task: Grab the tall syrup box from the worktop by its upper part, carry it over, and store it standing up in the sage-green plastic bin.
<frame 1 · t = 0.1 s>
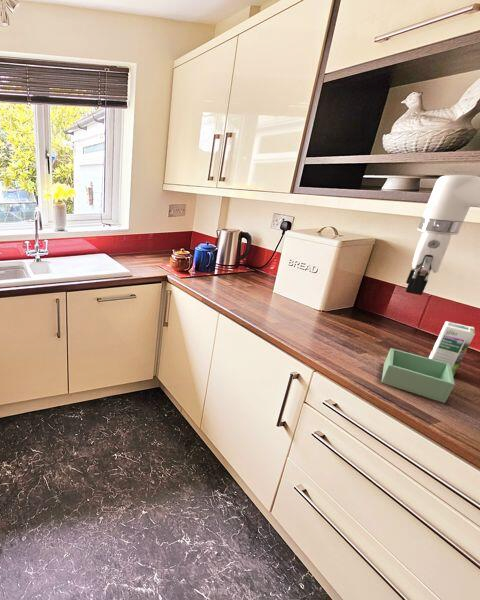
hand: (413, 288, 92), 25 cm above the counter, tool pointing down, fingers open, 9 cm apart
bin: (411, 382, 94), on the counter
syrup box: (438, 370, 100), on the counter
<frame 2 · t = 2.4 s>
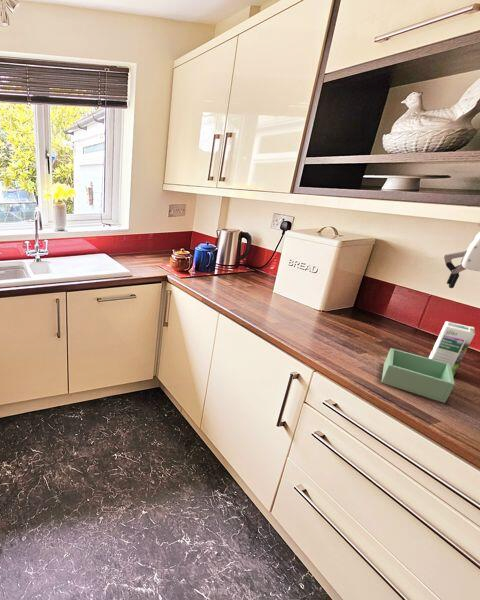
hand: (475, 291, 91), 25 cm above the counter, tool pointing down, fingers open, 9 cm apart
nothing on the counter moved.
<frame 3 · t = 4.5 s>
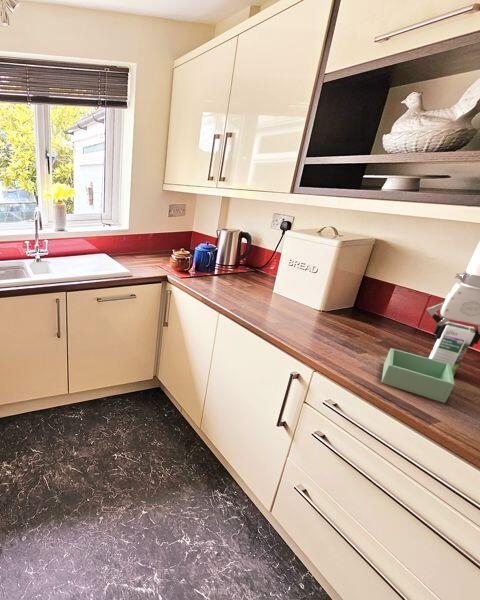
hand: (453, 340, 96), 10 cm above the counter, tool pointing down, fingers closed on syrup box, 5 cm apart
syrup box: (438, 370, 100), on the counter, touching gripper
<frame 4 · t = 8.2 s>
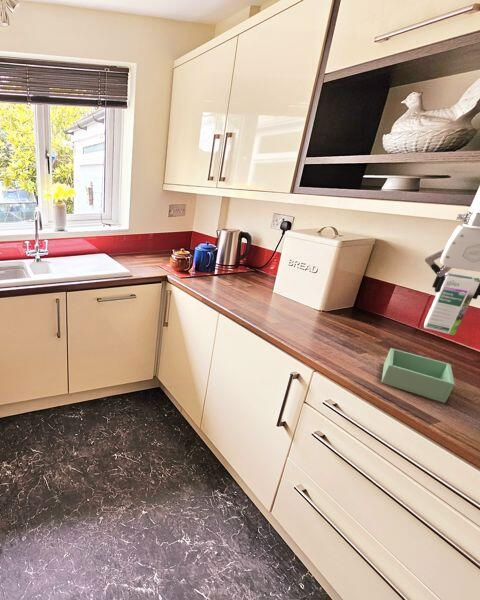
hand: (454, 293, 84), 27 cm above the counter, tool pointing down, fingers closed on syrup box, 5 cm apart
syrup box: (438, 329, 88), point 16 cm above the counter, touching gripper
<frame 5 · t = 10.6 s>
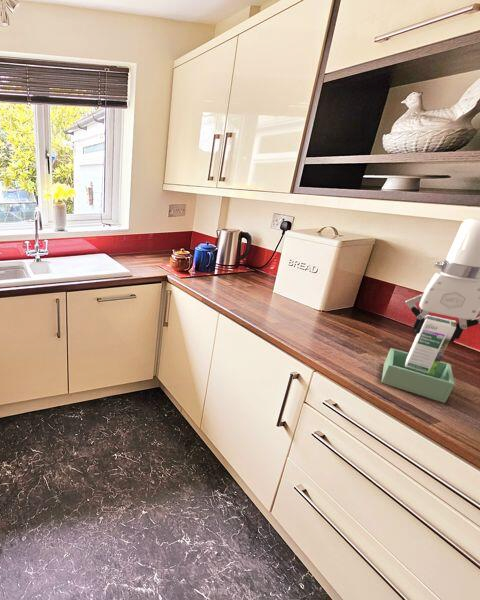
hand: (433, 335, 88), 15 cm above the counter, tool pointing down, fingers closed on syrup box, 5 cm apart
syrup box: (418, 367, 92), point 5 cm above the counter, touching gripper
when the fingers open (11 cm above the counter, at t = 12.1 s): syrup box stays where it is, resting on bin.
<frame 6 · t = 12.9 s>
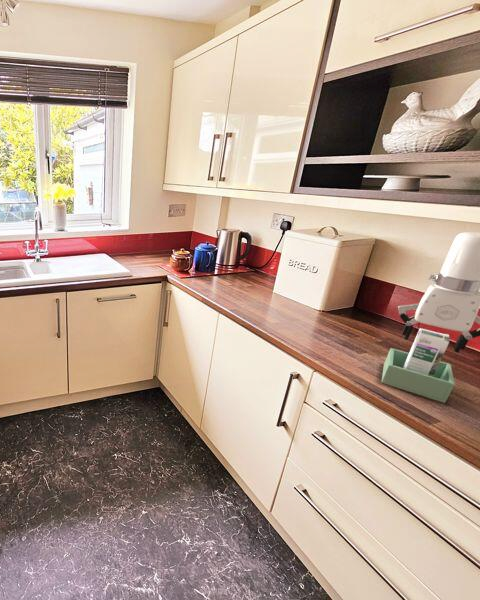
hand: (430, 343, 89), 12 cm above the counter, tool pointing down, fingers open, 9 cm apart
syrup box: (413, 380, 94), point 1 cm above the counter, touching bin
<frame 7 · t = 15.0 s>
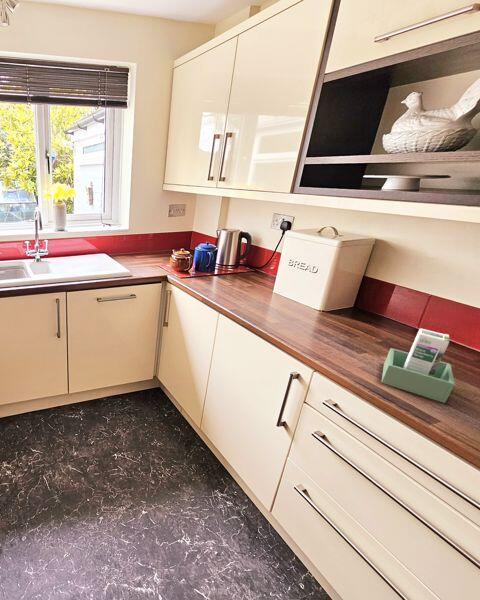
nothing on the counter moved.
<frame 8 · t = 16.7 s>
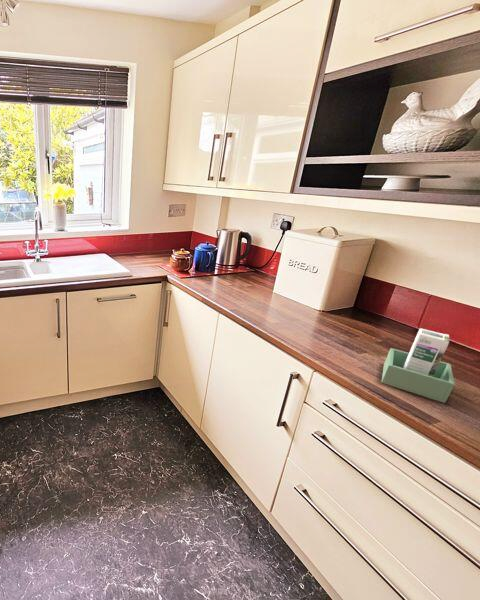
nothing on the counter moved.
at the end: syrup box inside the target area in the bin (0.1 cm from its centre), point 0.6 cm above the bin's base; syrup box tilted 0°; the gripper is holding nothing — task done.
